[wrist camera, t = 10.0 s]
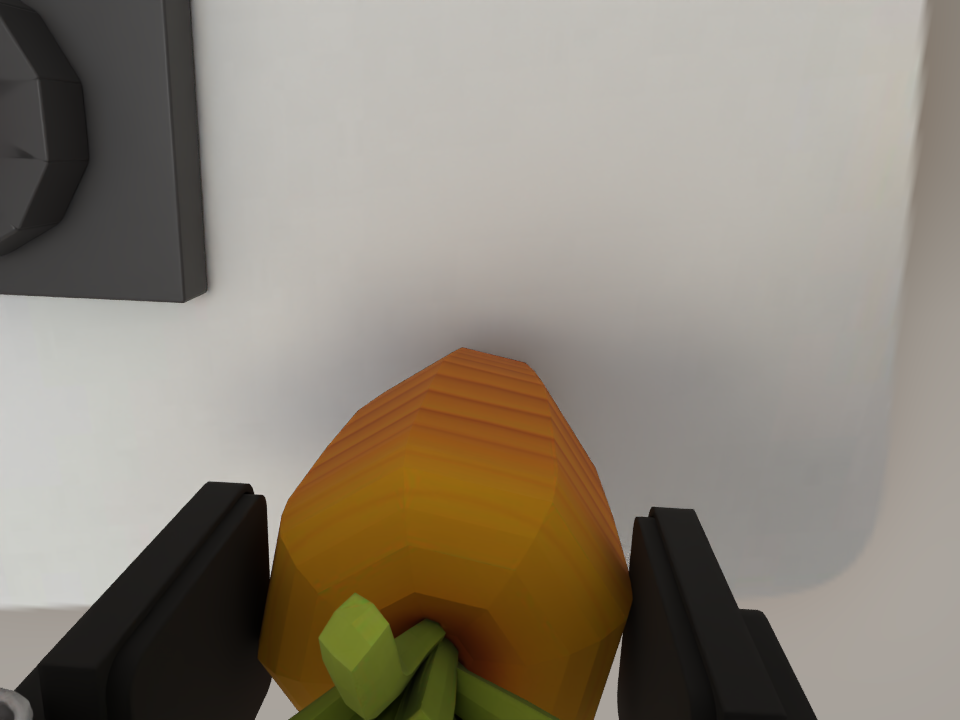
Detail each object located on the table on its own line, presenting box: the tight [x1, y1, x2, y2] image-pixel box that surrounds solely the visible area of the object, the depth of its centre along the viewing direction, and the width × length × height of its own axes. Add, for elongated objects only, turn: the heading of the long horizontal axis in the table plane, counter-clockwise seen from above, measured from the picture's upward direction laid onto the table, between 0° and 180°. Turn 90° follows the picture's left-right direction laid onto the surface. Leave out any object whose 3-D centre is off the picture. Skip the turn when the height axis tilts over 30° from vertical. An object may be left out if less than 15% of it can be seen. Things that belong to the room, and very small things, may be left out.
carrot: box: [258, 347, 633, 720], centre depth 13 cm, size 5×5×15 cm
